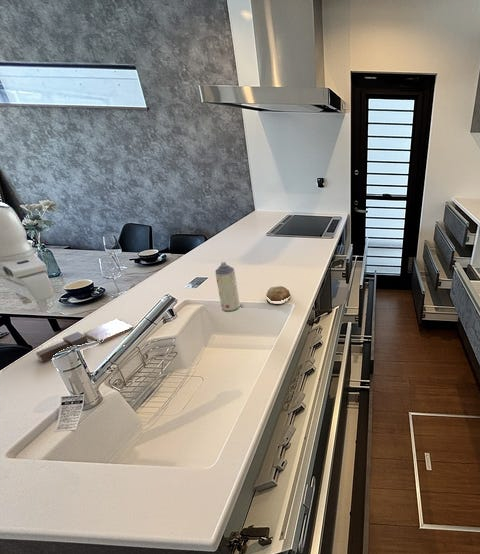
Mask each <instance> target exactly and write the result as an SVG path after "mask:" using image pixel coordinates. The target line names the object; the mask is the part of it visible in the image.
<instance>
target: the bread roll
mask: <svg viewBox="0 0 480 554" xmlns="http://www.w3.org/2000/svg"><path fill="white" fill-rule="evenodd" d="M266 296H267V297H268V298H269V299H270V300H271V301H281V300H284V299H286V298H288V297H289V296H290V297H291V293H290V290H289V289H288V288H286V287H284V286H281V285H280V286H278V285H277V286H272V287H270V288H269V289H268V290H267V292H266V295H265V297H266Z"/></svg>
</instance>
